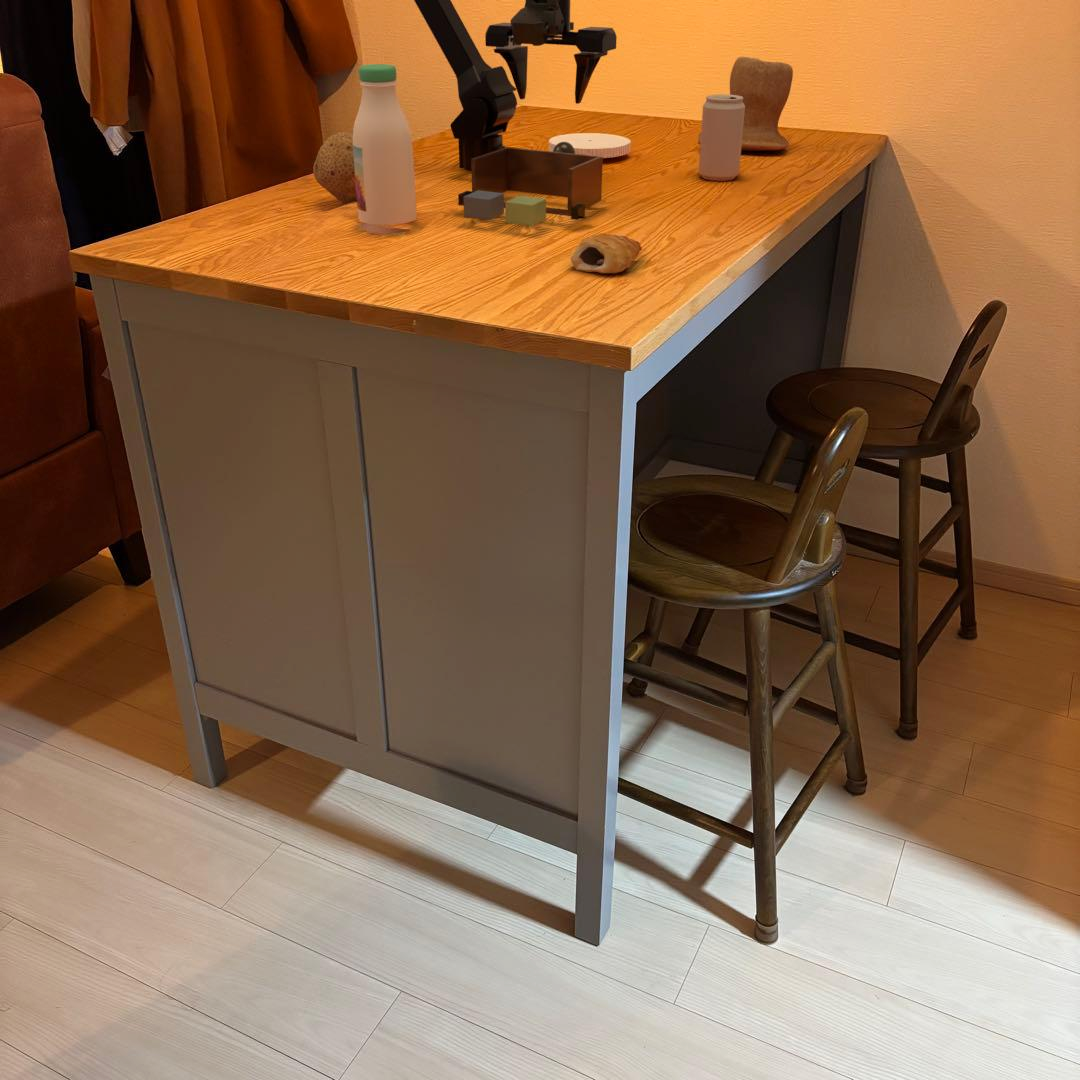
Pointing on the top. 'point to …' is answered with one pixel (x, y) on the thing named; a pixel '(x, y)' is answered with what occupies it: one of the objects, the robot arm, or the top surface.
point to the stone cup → (761, 101)
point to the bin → (541, 174)
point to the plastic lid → (594, 144)
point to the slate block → (484, 205)
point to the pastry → (605, 253)
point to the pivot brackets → (576, 211)
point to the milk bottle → (382, 154)
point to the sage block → (525, 210)
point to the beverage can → (721, 137)
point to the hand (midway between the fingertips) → (549, 101)
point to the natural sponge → (337, 167)
